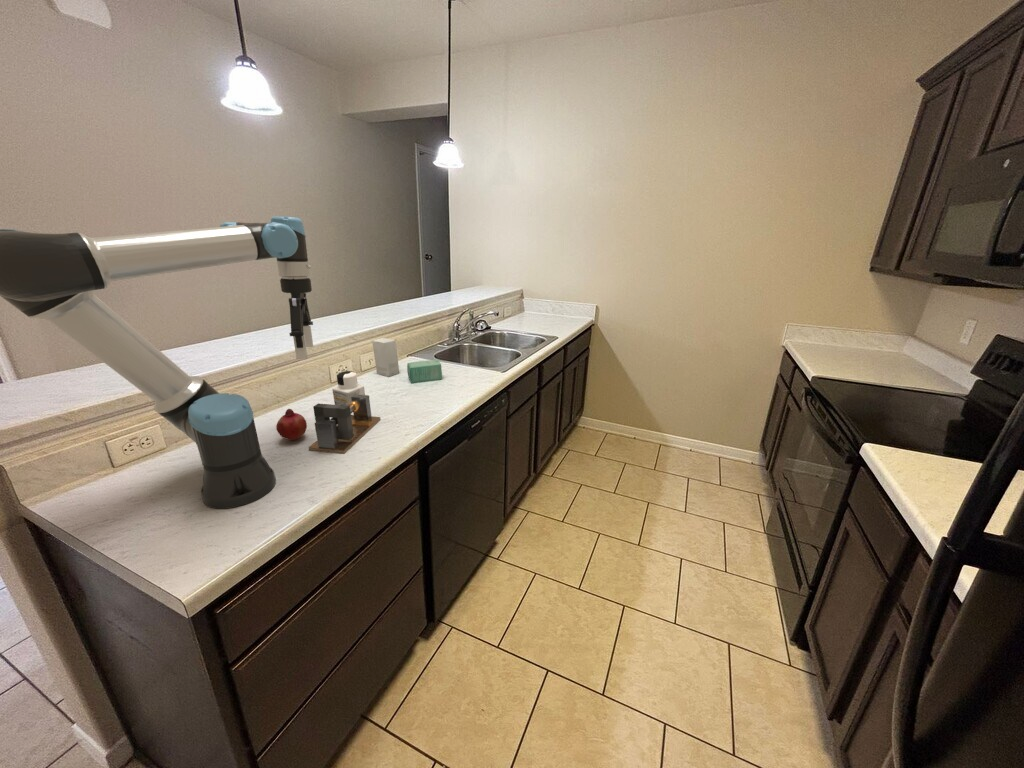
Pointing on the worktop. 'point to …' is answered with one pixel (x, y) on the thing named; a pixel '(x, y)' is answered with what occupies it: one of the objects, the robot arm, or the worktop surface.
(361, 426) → the pipe rig
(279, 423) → the fruit
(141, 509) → the worktop surface
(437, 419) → the worktop surface
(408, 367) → the box
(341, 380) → the container
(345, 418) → the collar
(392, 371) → the skincare box
